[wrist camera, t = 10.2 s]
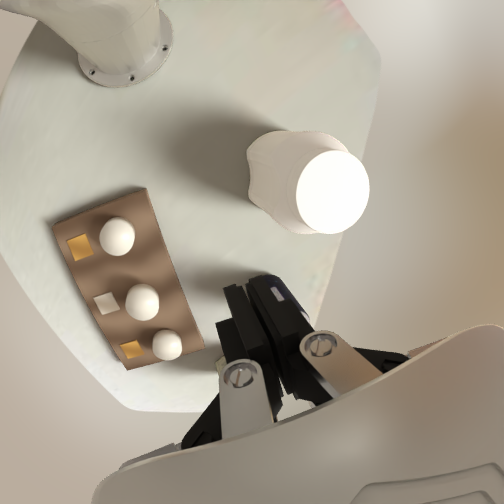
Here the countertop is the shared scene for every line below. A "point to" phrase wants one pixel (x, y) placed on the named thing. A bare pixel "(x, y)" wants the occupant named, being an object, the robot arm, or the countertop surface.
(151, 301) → the button middle
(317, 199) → the jar
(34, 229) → the countertop surface
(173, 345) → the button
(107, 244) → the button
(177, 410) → the countertop surface
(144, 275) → the button board
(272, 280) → the beverage can
